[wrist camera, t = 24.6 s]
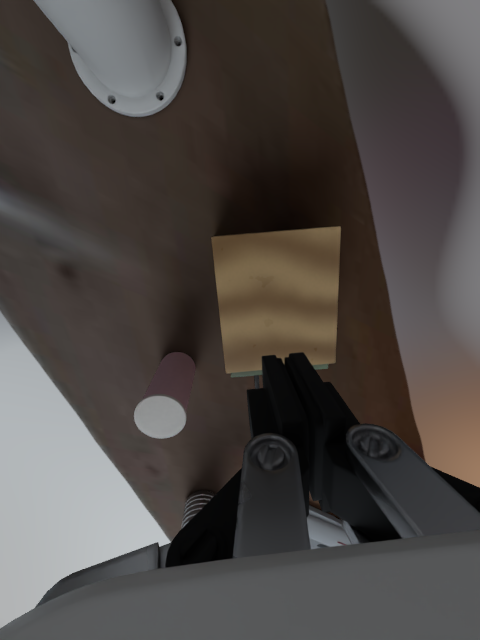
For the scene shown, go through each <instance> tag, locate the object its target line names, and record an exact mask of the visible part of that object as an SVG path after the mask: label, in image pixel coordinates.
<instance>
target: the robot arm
mask: <svg viewBox="0 0 480 640" xmlns="http://www.w3.org/2000/svg"><path fill="white" fill-rule="evenodd" d="M34 2H35V3H36V4H37V5H38V6H39V8H40V9H41V10H42V11H43V12H44V14H45V15H46V16H47V17H48V19H49V20H50V21H51V22H52V23H53V25H54V26H55V27H56V28H57V29H58V31H59V32H60V33H61V34H62V36H63V37H64V38H65V39H66V40H67V42H68V47H69V51H70V54H71V58H72V61H73V63H74V66H75V68H76V70H77V73H78V74H79V76H80V78H81V79H82V81H83V83H84V84H85V85H86V87H87V88H88V89H89V90H90V91H91V93H92V94H93V95H94V96H95V97H96V98H97V99H98V100H99V101H100V102H102V103H103V104H104V105H106V106H107V107H108V108H110V109H112V110H114V111H116V112H118V113H120V114H123V115H127V116H131V117H143V116H149V115H152V114H154V113H157V112H159V111H161V110H162V109H163V108H165V107H166V106H167V105H169V103H170V102H171V101H172V100H173V99H174V98H175V96H176V95H177V93H178V91H179V89H180V87H181V85H182V82H183V79H184V76H185V70H186V64H187V48H186V41H185V35H184V31H183V27H182V23H181V20H180V18H179V15H178V13H177V10H176V8H175V7H174V5H173V3H172V1H171V0H34ZM178 44H180V45H181V46H177V45H178ZM161 97H163V98H164V99H163V100H161V101H160V98H161ZM113 101H116V102H115V103H114V104H113ZM262 375H263V388H260V389H250V390H247V400H248V412H249V422H250V431H251V440H250V441H249V442H248V443H247V445H246V446H245V450H244V454H243V464H242V468H241V469H240V470H239V471H238V472H237V473H236V474H235V475H234V476H233V477H232V478H231V479H230V480H229V481H228V483H227V484H226V485H225V486H224V487H223V488H222V489H221V490H220V491H219V492H218V493H217V494H216V495H215V496H214V497H213V498H212V499H211V500H210V501H209V502H208V503H207V504H206V505H205V506H204V507H203V508H202V509H201V510H200V511H199V512H198V513H197V514H196V515H195V516H194V517H193V518H192V519H191V520H190V521H189V522H188V523H187V524H186V525H185V526H184V527H183V528H182V529H181V530H180V531H179V533H178V534H177V535H176V536H175V538H174V539H173V541H172V543H169V544H166V545H164V546H161V547H159V544H158V543H154V544H152V545H149V546H146V547H143V548H141V549H138V550H135V551H132V552H130V553H127V554H124V555H121V556H119V557H116V558H113V559H110V560H108V561H105V562H102V563H99V564H97V565H94V566H91V567H88V568H86V569H83V570H80V571H77V572H75V573H72V574H71V575H69V576H67V577H65V578H63V579H61V580H60V581H59V582H57V584H55V585H54V586H53V587H52V588H51V589H50V590H48V591H47V593H46V594H45V595H44V596H43V598H42V599H41V601H40V602H39V603H38V605H37V606H36V607H35V608H34V609H33V610H31V611H29V612H27V613H25V614H24V615H22V616H20V617H19V618H17V619H15V620H13V621H11V622H10V623H8V624H7V625H5V626H4V627H2V628H1V629H0V640H480V488H479V487H476V486H474V485H472V484H470V483H467V482H465V481H463V480H460V479H458V478H456V477H453V476H451V475H449V474H446V473H444V472H442V471H440V470H437V469H435V468H433V467H430V466H429V465H428V464H427V463H426V462H425V461H424V460H422V459H421V458H420V457H419V456H418V455H417V454H416V453H415V452H414V451H413V450H412V449H411V448H410V447H409V446H408V445H406V444H405V443H404V442H403V441H402V440H401V439H400V438H399V437H398V436H397V435H395V434H394V433H393V432H391V431H390V430H388V429H386V428H384V427H381V426H378V425H374V424H366V423H365V424H360V423H359V422H358V420H357V419H356V417H355V416H354V415H353V413H352V412H351V410H350V409H349V408H348V406H347V405H346V403H345V402H344V400H343V399H342V398H341V396H340V395H339V393H338V392H337V391H336V389H335V388H334V386H333V385H332V384H331V383H330V382H323V381H322V380H321V378H320V376H319V375H318V373H317V372H316V370H315V369H314V367H313V366H312V364H311V363H310V361H309V360H308V358H307V357H306V355H305V354H304V352H299V353H289V357H285V358H284V363H283V361H282V359H281V358H277V357H276V355H267V356H262ZM309 491H310V494H311V497H312V499H313V501H316V500H319V503H320V506H321V509H322V512H323V513H324V512H332V513H333V514H335V515H337V516H338V517H340V518H341V524H342V527H343V529H344V532H345V534H346V535H347V537H348V539H349V541H350V543H351V545H343V546H334V547H326V548H317V549H311V546H310V539H309V531H308V524H307V517H308V515H309Z"/></svg>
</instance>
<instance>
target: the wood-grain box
mask: <svg viewBox="0 0 480 640" xmlns="http://www.w3.org/2000/svg"><path fill="white" fill-rule="evenodd" d="M340 238H341V226H332V227H317V228H304V229H292V230H280V231H268V232H256V233H243V234H231V235H219V236H212V237H211V240H212V249H213V259H214V268H215V277H216V286H217V296H218V305H219V314H220V324H221V333H222V342H223V352H224V361H225V370H226V373H235V372H245V371H256V370H262V356H267V355H276V357H277V358H281V359H282V361H283V363H284V358H285V357H289V353H299V352H304V354H305V355H306V357H307V358H308V360H309V361H310V363H311V364H312V365H319V364H330V363H335V360H336V336H337V311H338V287H339V262H340Z"/></svg>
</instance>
